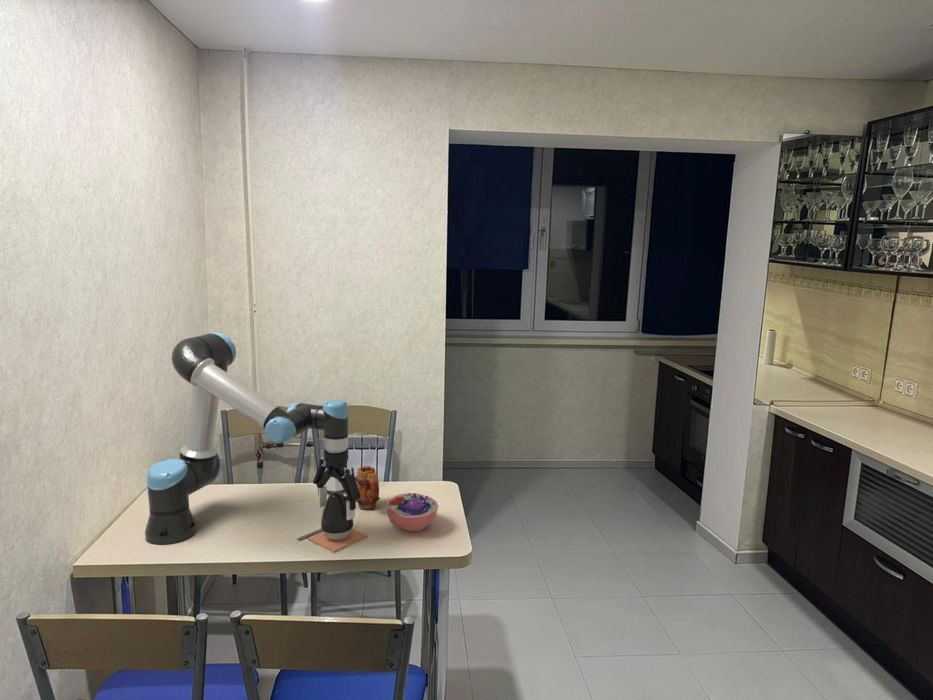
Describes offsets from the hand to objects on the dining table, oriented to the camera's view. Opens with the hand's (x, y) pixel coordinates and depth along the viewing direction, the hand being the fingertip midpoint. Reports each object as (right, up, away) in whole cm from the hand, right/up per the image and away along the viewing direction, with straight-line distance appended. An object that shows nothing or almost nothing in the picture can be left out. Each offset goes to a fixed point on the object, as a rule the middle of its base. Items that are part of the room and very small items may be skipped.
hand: (336, 512), depth 209 cm
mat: (0, -9, +2) cm, 9 cm away
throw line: (-6, -8, +7) cm, 12 cm away
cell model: (+23, -8, +11) cm, 27 cm away
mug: (+7, -5, +24) cm, 25 cm away
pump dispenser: (0, -8, +1) cm, 8 cm away
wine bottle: (-8, -2, +40) cm, 41 cm away
